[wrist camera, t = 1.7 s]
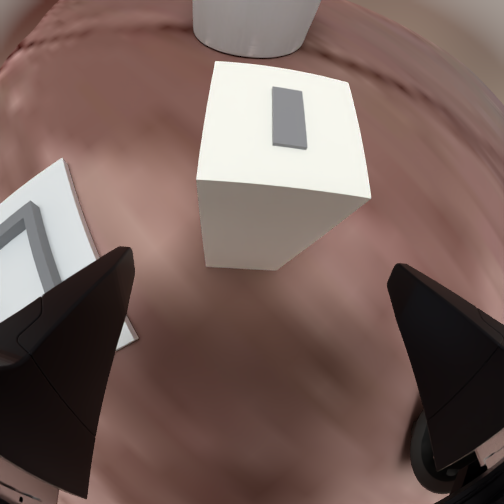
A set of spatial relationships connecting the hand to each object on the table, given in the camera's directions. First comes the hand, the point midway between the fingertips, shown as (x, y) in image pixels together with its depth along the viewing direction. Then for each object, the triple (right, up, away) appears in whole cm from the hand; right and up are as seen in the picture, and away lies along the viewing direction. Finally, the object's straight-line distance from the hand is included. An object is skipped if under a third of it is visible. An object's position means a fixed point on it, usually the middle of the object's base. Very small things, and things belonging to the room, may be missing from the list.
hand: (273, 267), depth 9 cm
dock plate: (-19, -2, +8) cm, 21 cm away
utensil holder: (-1, +28, +18) cm, 33 cm away
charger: (-1, +2, +12) cm, 12 cm away
